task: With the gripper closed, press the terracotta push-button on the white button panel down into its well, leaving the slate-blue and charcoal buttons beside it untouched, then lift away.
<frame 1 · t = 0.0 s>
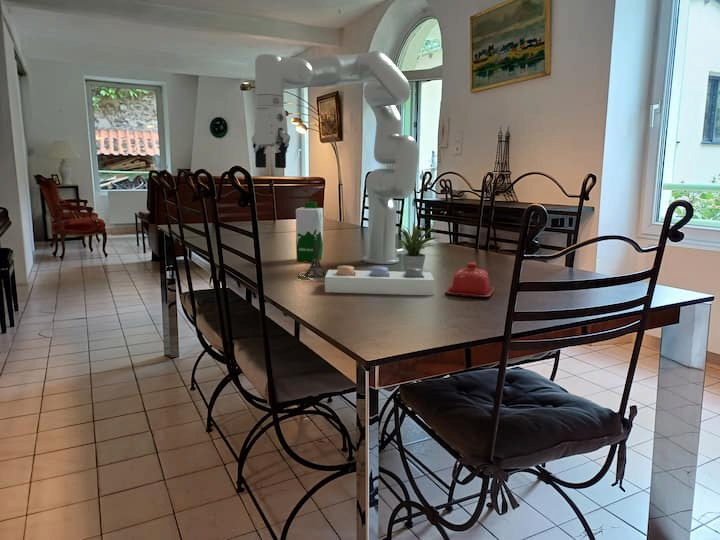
hand: (270, 167, 145), 31 cm above the table, tool pointing down, fingers open, 9 cm apart
house plant: (411, 276, 158), on the table
eiffel tower figurine: (314, 278, 154), on the table
butter dish: (470, 295, 136), on the table
slate blue button: (379, 273, 138), point 4 cm above the table, slide at 0.0 cm
milk carton: (309, 261, 179), on the table
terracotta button: (345, 273, 138), point 4 cm above the table, slide at 0.0 cm
white button panel: (379, 289, 138), on the table
charcoal button: (413, 274, 137), point 4 cm above the table, slide at 0.0 cm
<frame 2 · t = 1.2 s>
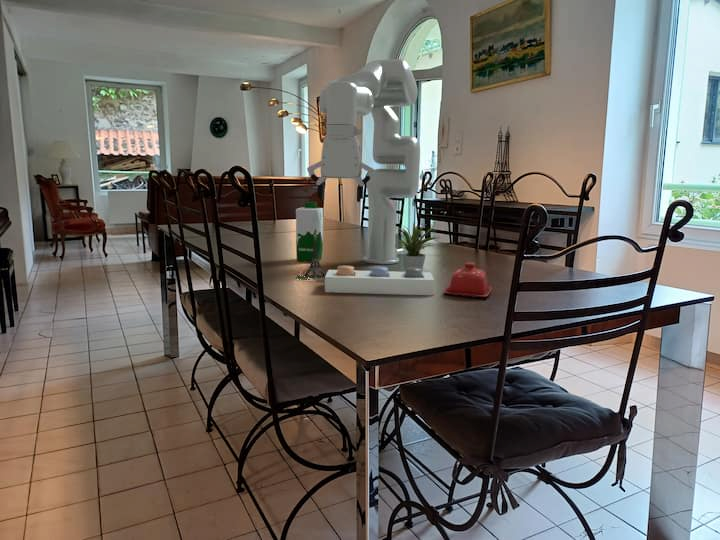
hand: (340, 201, 135), 23 cm above the table, tool pointing down, fingers open, 9 cm apart
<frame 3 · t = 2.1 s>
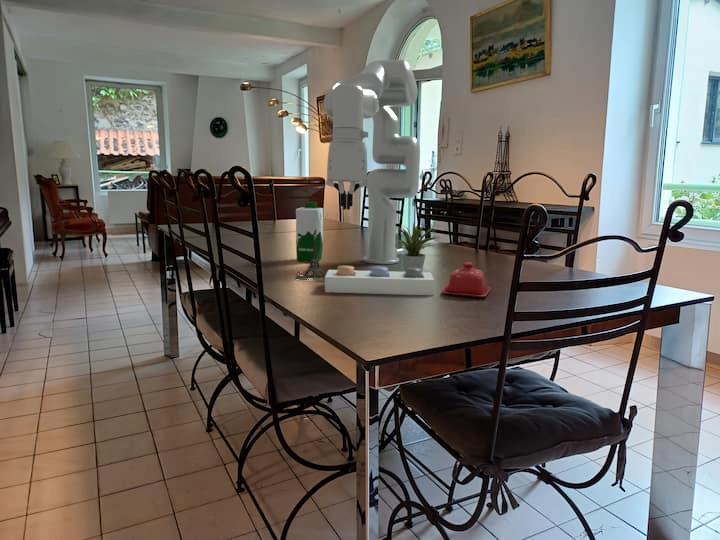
hand: (346, 209, 135), 21 cm above the table, tool pointing down, fingers closed
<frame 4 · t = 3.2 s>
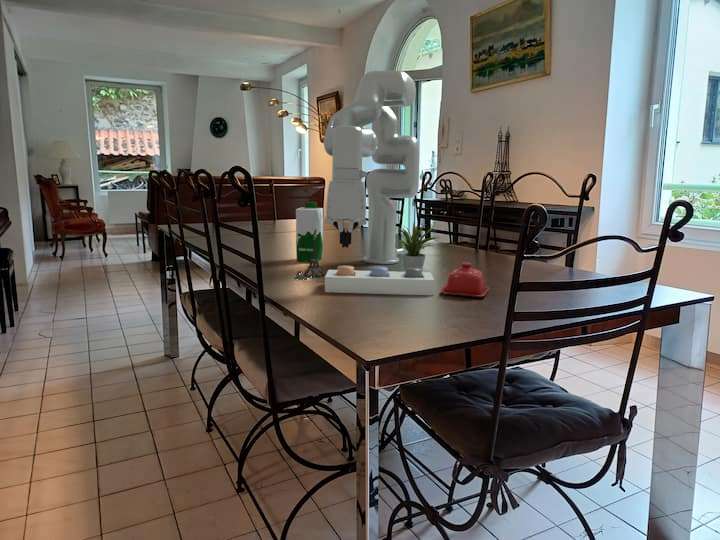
hand: (345, 246, 136), 11 cm above the table, tool pointing down, fingers closed
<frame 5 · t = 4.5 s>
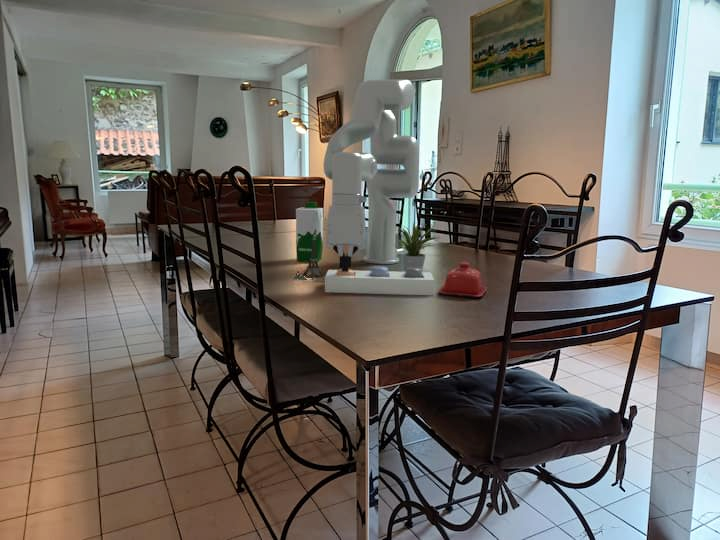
hand: (345, 270, 138), 5 cm above the table, tool pointing down, fingers closed
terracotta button: (345, 276, 138), point 3 cm above the table, slide at 0.9 cm, touching gripper
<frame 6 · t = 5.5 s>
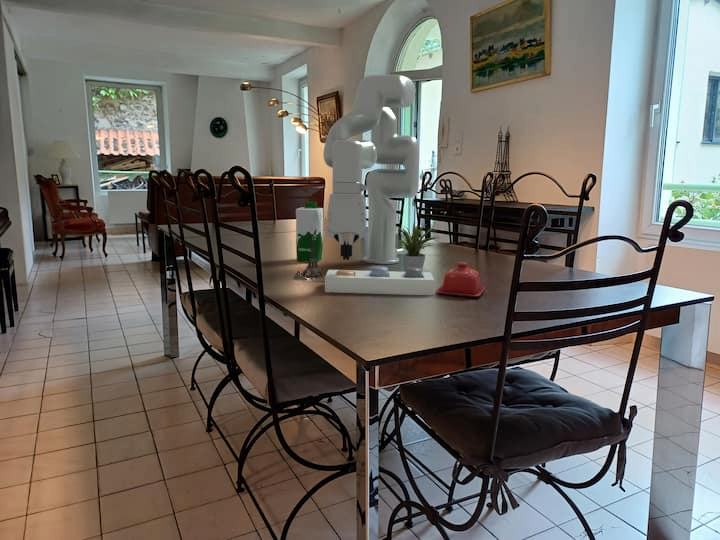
hand: (346, 258, 138), 8 cm above the table, tool pointing down, fingers closed
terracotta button: (345, 277, 138), point 3 cm above the table, slide at 1.2 cm
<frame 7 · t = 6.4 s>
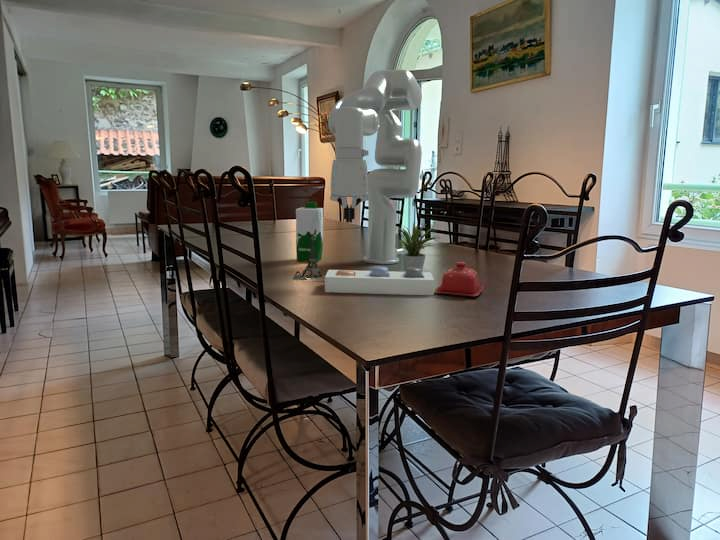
hand: (349, 221, 145), 17 cm above the table, tool pointing down, fingers closed
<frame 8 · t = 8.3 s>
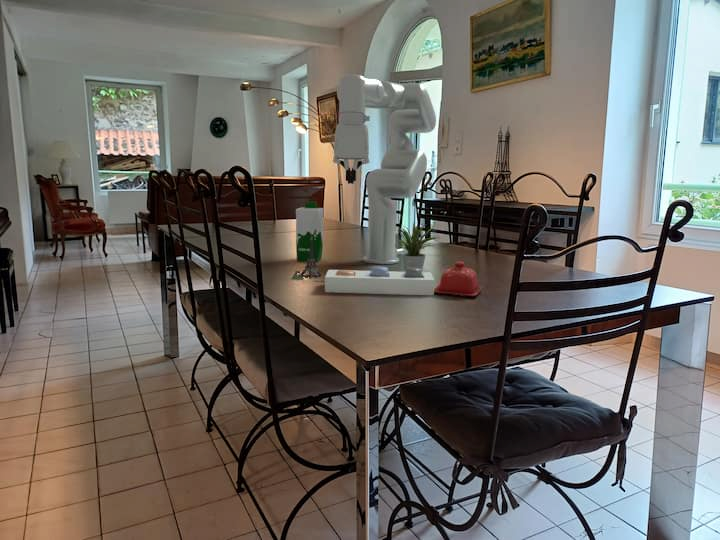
hand: (350, 183, 155), 27 cm above the table, tool pointing down, fingers closed
at the end: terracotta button slide at 1.2 cm; slate blue button slide at 0.0 cm; charcoal button slide at 0.0 cm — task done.
